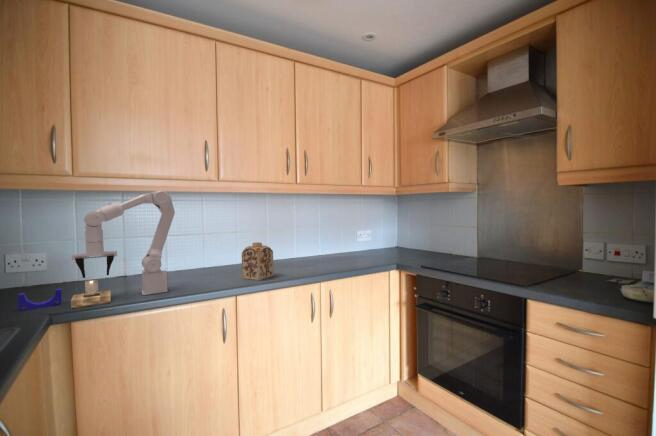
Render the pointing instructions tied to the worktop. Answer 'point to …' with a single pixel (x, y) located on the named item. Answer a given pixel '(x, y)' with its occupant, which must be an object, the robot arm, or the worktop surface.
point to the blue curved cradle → (32, 305)
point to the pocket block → (91, 299)
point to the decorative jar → (257, 262)
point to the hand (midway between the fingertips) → (96, 276)
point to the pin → (91, 288)
